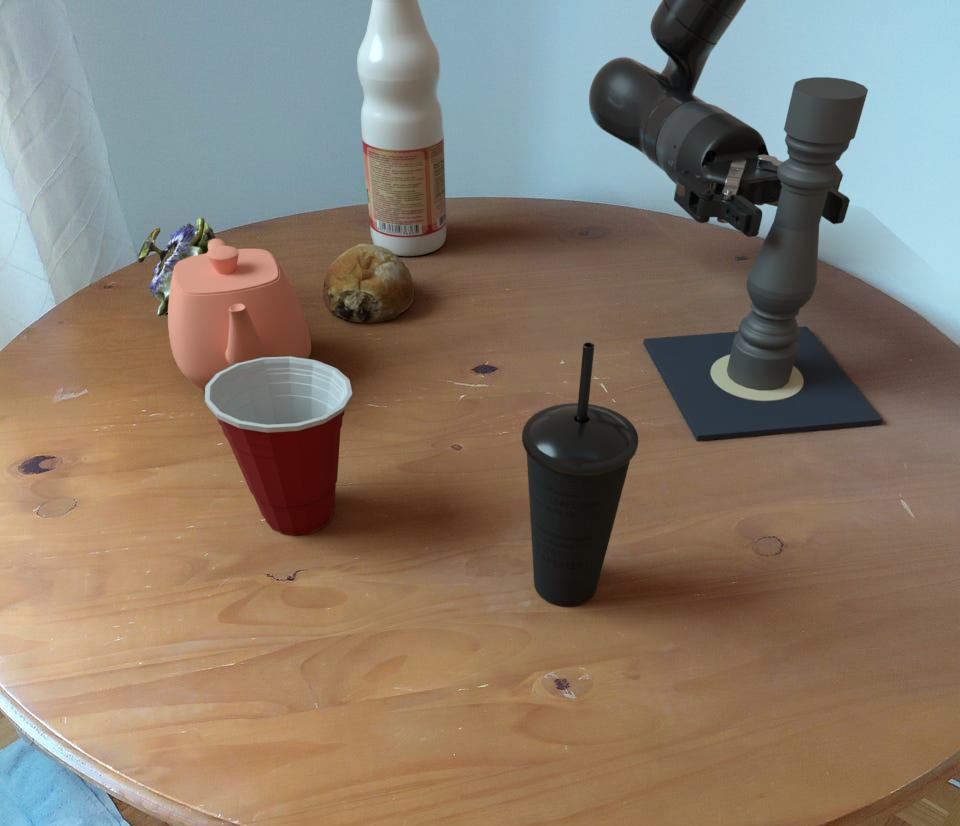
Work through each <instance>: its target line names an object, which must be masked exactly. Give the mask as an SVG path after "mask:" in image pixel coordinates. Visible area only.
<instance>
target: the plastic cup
mask: <svg viewBox="0 0 960 826" xmlns="http://www.w3.org/2000/svg"><path fill="white" fill-rule="evenodd" d="M351 385H352V384H351V381H350V379H349V378H348V377H347V376H346V375H345V374H343V372H341V371H340V370H339V369H338V368H337V367H334V366H332V365H329V364H327V363H324V362H322V361H319V360H316V359H311V358H308V359H304V358H297V357H266V358H259V359H254V360H250V361H246V362H241V363H237V364H235V365H233V366H231V367H229V368H227V369H225V370H223V371H221V372H219V373H217V374H216V375H215V376H214V377H213V378H212V379H211V381H210V382H209V383H208V384H207V385H206V386H205V389H204V402H205V404H206V406H207V407H208V409H209V410H210V411H211V412H212V413H213V415H214V416H215V417H216V419H217V422H218V424H219V425H220V427H221V429H222V433H223V434H224V437H225V438H226V439H227V441H228V443H229V446H230V448H231V450H232V452H233V455H234V458H235V459H236V462H237V464H238V467H239V468H240V471H241V474H242V477H243V478H244V480H245V482H246V485H247V487H248V490H249V492H250V493H251V494H252V496H253V498H254V500H255V502H256V505H257V507H258V509H259V512H260V514H261V516H262V517H263V519H265V522H266V523H267V524H268V526H269V527H270V528H271V529H272V530H274V531H276V532H278V533H280V534H283V535H291V536H298V535H306V534H311V533H313V532H316V531H318V530H320V529H323V527H325V526H326V525H327V524H328V523H329V522H330V521H331V519H332V517H333V515H334V510H335V508H336V489H337V482H338V474H339V459H340V446H341V445H340V444H341V442H340V441H341V429H342V427H343V419H344V416H345V412H346V407H347V406H348V404H349V402H350V401H351V399H352V397H353V390H352V386H351Z"/></svg>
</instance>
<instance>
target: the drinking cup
mask: <svg viewBox="0 0 960 826" xmlns="http://www.w3.org/2000/svg"><path fill="white" fill-rule="evenodd" d="M594 355H595V344H594V343H593V342H589V341H588V342H585V343H583V344H582V355H581V365H580V375H579V376H580V377H579V387H578V388H579V389H578V390H579V391H578V398H577V399H578V400H577V402H571V403H560V404H556V405H552V406H549V407H545V408H542V409H541V410H539V411H537V412H536V413H534V414H533V415H532V416H531V417H530V418H528V420H526V422H525V424H524V426H523V428H522V431H521V432H522V433H521V442H522V446H523V448H524V450H525V452H526V461H527V462H526V465H527V483H528V502H529V516H530V517H529V518H530V533H531V552H532V568H533V586H534V588H535V591H536V593H537V595H538V596H539V597H540V598H542V599H543V601H546V602H548V603H549V604H552V605H555V606H559V607H576V606H580V605H583V604H586V603H587V602H589V601H590V600H591V599H592V598H593V597H594V596H595V594H596V592H597V589H598V585H599V581H600V578H601V574H602V570H603V566H604V562H605V558H606V556H607V555H606V554H607V551H608V547H609V543H610V540H611V536H612V532H613V528H614V524H615V521H616V516H617V513H618V508H619V505H620V500H621V497H622V494H623V490H624V485H625V482H626V477H627V474H628V470H629V466H630V462H631V460H632V459H633V457H634V456H635V455H636V454H637V451H638V447H639V435H638V431H637V429H636V427H635V426H634V425H633V423H632V422H631V421H630V420H629V419H628V418H626V417H625V416H624V415H623V414H620V413H619V412H617V411H615V410H613V409H610V408H607V407H605V406H601V405H596V404H592V403H590V393H591V386H592V385H591V384H592V375H593V374H592V373H593V365H594V364H593V363H594Z"/></svg>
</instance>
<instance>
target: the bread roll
mask: <svg viewBox="0 0 960 826" xmlns="http://www.w3.org/2000/svg"><path fill="white" fill-rule="evenodd" d="M414 286H415V285H414V281H413V277H412V274H411V272H410V269H409V267H407V266H406V264H405V263H404V262H403V260H402V259H401V258H400V257H398V255H395V254H394V253H392V252H391V251H390V250H388V249H386V248H383V247H381V246H377V245H374V244H368V243H359V244H357V245H355V246H352V247H351V248H348V249H347V250H346V251H344V252H342V253H341V255H339V256H337V258H336V260H334V261H333V262H332V263H331V264H330V267H329V268H328V270H327V271H326V273H325V276H324V280H323V289H322V299H323V301H324V302H323V303H324V304H325V307H326V308H327V309H328V310H329V311H330V313H331V314H332V315H334V316H336V315H337V316H336V317H338V316H339V317H338V318H340V317H341V318H340V319H342V318H343V319H342V320H344V319H345V320H349V322H351V323H354V322H360V323H359V324H369V323H368V322H373V323H379V322H383V321H388V320H394V319H396V318H398V317H399V315H400V314H402V313H403V312H405V311H407V310H408V309H409V307H410V306H411V305H412V303H413V301H414V293H415V287H414ZM387 319H388V320H387ZM345 320H344V321H345ZM382 320H383V321H382ZM378 321H379V322H378Z"/></svg>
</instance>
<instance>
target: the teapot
mask: <svg viewBox="0 0 960 826" xmlns="http://www.w3.org/2000/svg"><path fill="white" fill-rule="evenodd" d="M207 242H208V252H207V253H205V254H200V255H196V256H192V257H188V258H185V259H183V260H181V261H179V262H177V264H176V265H175V266H174V270H173V274H172V280H171V287H170V294H169V303H168V314H167V328H168V337H169V344H170V348H171V352H172V356H173V358H174V361H175V363H176V365H177V367H178V368H179V370H180V372H181V373H182V374H183V375H184V376H185V378H186V379H187V380H188V381H189V382H190V383H192V384H193V385H194V386H195V387H197V388H199V389H203V390H205V386H206V385H207V384H208V383H209V382H210V381H211V379H212V378H213V377H214V376H215V375H216V374H217V373H219V372H221V371H223V370H225V369H227V368H229V367H231V366H233V365H235V364H237V363H241V362H246V361H250V360H254V359H259V358H266V357H297V358H304V359H310V358H309V357H310V355H311V352H312V341H311V340H312V339H311V333H310V329H309V325H308V321H307V317H306V315H305V312H304V308H303V305H302V304H301V301H300V299H299V297H298V295H297V293H296V291H295V288H294V287H293V285H292V283H291V282H290V280H289V278H288V277H287V275H286V274H285V272H284V270H283V268H282V267H281V266H280V264H279V263H278V261H277V260H276V258H275V257H274V255H273V254H272V253H271V252H270V251H268V250H266V249H262V248H236V247H235V246H231V245H227V244H226V242H225V241H224V240H222V239H221V238H216V239H212V240H208V241H207Z"/></svg>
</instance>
